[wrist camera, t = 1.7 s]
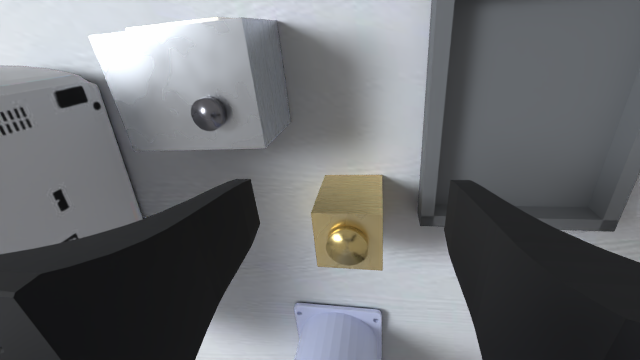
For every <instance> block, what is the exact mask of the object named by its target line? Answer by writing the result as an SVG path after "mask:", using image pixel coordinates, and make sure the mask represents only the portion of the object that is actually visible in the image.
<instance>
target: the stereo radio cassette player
mask: <svg viewBox="0 0 640 360" xmlns="http://www.w3.org/2000/svg"><path fill="white" fill-rule="evenodd" d="M142 219H143V218H142V215H141V212H140V209H139V206H138V203H137V200H136V197H135V194H134V191H133V188H132V185H131V183H130V180H129V177H128V174H127V171H126V168H125V165H124V162H123V159H122V156H121V153H120V150H119V147H118V144H117V141H116V138H115V135H114V132H113V129H112V126H111V123H110V121H109V118H108V115H107V112H106V109H105V106H104V103H103V100H102V97H101V94H100V90H99V88H98V86H97V85H96V84H94V83H91V82H88V81H87V80H85V79H83V78H82V77H81V76H79V75H76V74H72V73H68V72H63V71H58V70H52V69H46V68H39V67H29V66H4V65H0V254H5V253H11V252H17V251H22V250H28V249H34V248H39V247H44V246H49V245H53V244H58V243H62V242H67V241H71V240H75V239H79V238H83V237H87V236H91V235H94V234H98V233H101V232H104V231H108V230H111V229H115V228H118V227H121V226H125V225H128V224H131V223H134V222H136V221H139V220H142Z"/></svg>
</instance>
